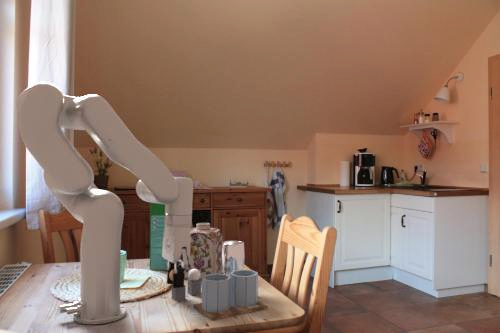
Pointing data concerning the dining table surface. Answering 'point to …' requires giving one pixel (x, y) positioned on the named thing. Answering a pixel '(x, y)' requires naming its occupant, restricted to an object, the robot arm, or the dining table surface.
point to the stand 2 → (194, 287)
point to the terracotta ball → (171, 274)
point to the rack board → (230, 310)
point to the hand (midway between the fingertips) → (175, 284)
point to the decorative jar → (205, 250)
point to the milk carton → (157, 236)
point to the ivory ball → (194, 274)
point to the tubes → (229, 290)
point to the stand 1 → (179, 293)
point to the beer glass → (232, 256)
